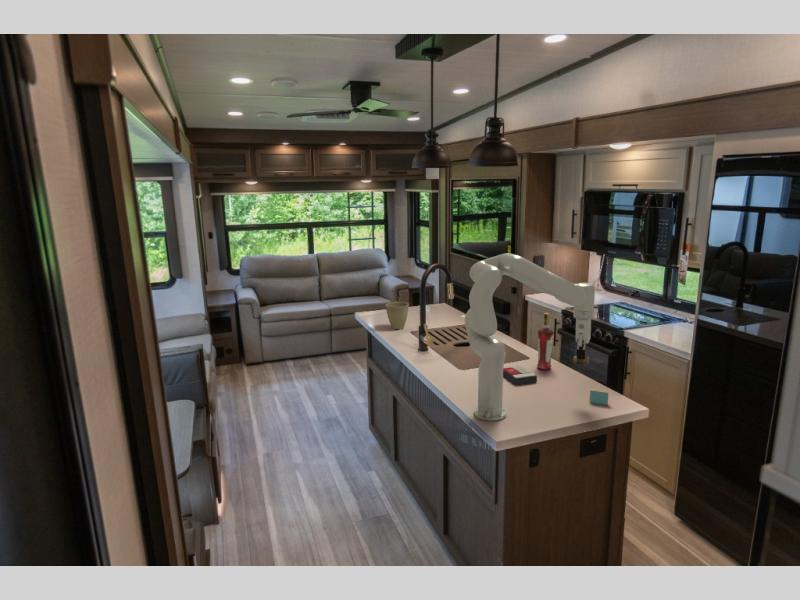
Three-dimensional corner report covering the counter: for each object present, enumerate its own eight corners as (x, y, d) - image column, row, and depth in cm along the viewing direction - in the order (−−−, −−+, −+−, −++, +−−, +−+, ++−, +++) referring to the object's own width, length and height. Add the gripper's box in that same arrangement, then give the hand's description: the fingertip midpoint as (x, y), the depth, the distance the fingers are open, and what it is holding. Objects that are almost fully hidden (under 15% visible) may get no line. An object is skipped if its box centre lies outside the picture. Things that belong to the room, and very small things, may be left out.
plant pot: (408, 324, 331) (408, 301, 327) (409, 331, 316) (409, 306, 313) (386, 325, 330) (385, 301, 327) (386, 331, 316) (385, 307, 312)
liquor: (539, 364, 253) (541, 310, 247) (553, 367, 249) (556, 312, 243) (534, 369, 247) (536, 314, 241) (548, 372, 243) (551, 316, 237)
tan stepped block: (587, 365, 204) (589, 336, 201) (573, 363, 206) (574, 335, 203) (588, 362, 206) (590, 334, 204) (574, 361, 209) (575, 333, 206)
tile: (607, 405, 206) (608, 393, 204) (589, 402, 209) (590, 390, 207) (607, 403, 207) (608, 391, 206) (589, 401, 210) (590, 388, 209)
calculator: (520, 365, 244) (537, 374, 230) (520, 373, 245) (537, 383, 231) (500, 367, 241) (515, 377, 227) (500, 376, 242) (515, 386, 228)
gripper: (591, 319, 193) (588, 365, 197) (595, 309, 207) (593, 352, 211) (570, 317, 196) (568, 362, 200) (576, 308, 210) (574, 350, 214)
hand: (581, 356), depth 206 cm, fingers closed on tan stepped block, 3 cm apart
